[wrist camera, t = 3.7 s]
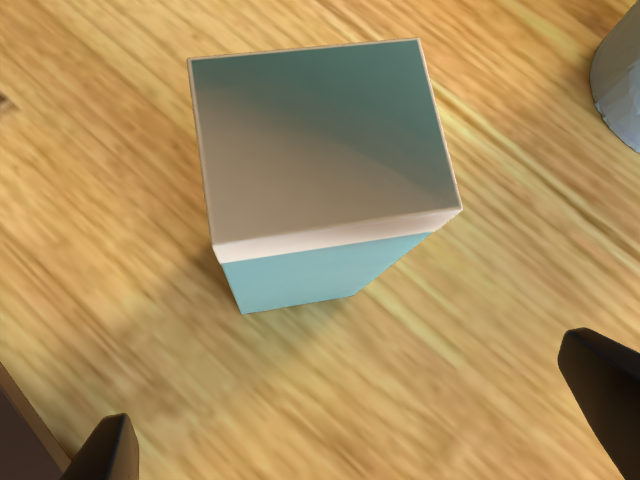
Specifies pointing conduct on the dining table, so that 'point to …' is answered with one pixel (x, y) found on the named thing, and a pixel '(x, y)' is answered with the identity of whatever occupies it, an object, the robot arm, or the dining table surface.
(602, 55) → the grey embossed cup
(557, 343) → the dining table surface
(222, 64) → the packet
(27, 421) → the stand
